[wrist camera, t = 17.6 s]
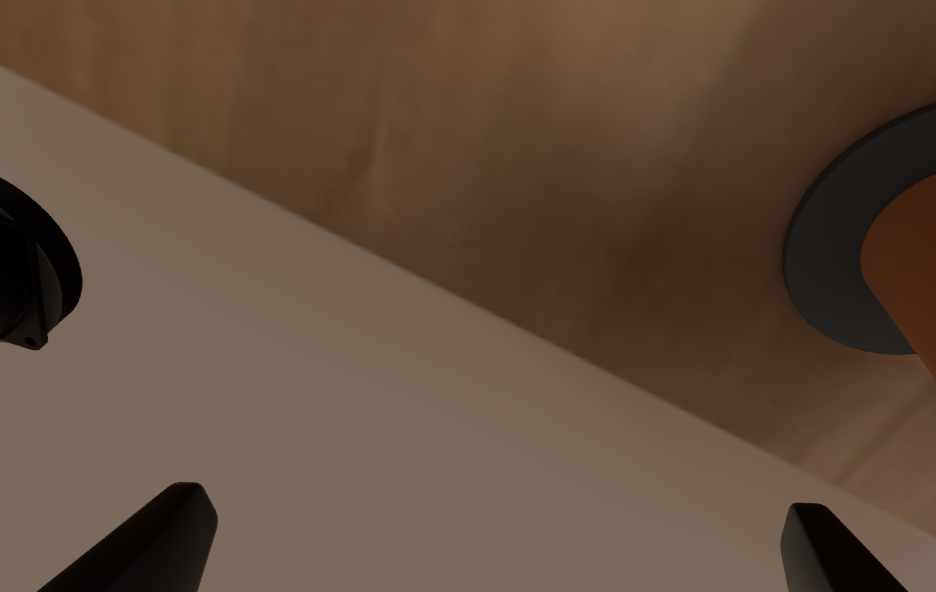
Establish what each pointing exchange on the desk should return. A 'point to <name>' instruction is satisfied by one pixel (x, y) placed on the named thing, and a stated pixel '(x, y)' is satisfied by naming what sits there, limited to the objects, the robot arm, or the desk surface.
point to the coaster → (854, 232)
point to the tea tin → (906, 265)
